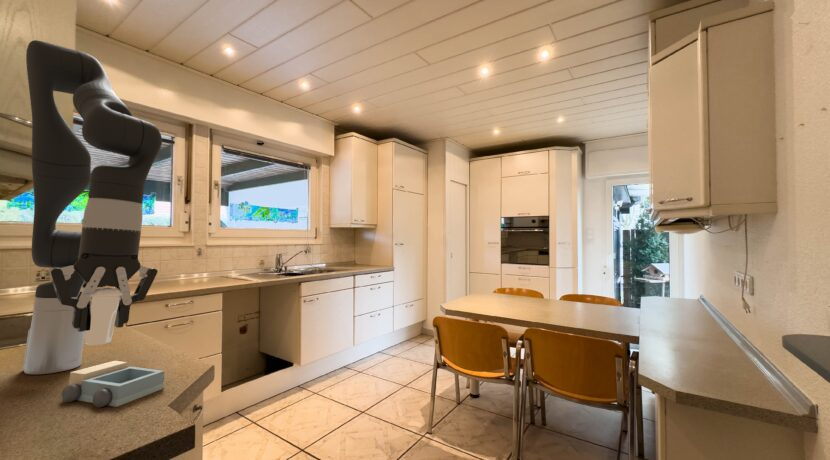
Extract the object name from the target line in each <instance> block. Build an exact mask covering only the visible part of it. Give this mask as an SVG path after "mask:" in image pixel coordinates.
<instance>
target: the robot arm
mask: <svg viewBox="0 0 830 460" xmlns="http://www.w3.org/2000/svg"><path fill="white" fill-rule="evenodd" d="M26 48H27V49H26V52H25V53H26V54H25V56H26V57H25V59H26V62H25V63H26V73H27V74H26V76H27V83H28V90H29V91H28V92H29V99H30V109H31V118H32V119H31V122H32V123H31V172H32V182H33V183H32V184H33V203H34V204H33V205H34V206H33V207H34V209H33V211H34V212H33V221H32V222H33V223H32V224H33V225H32V235H31V236H32V237H31V258H32V259H31V260H32V262H33V263H34V265H36V266H37V267H39V268H49V270H48V274H49V277H50V281H49V282H44V283H40V284H39V285H37V287H36V288H35V294H34V296H35V297H34V302H33V308H32V310H33V311H32V317H31V322H30V323H31V324H30V328H28V330H27V331H28V332H27V339H26V345H25V352H24V360H23V366H22V370H23V373H24V374H25V375H45V374H54V373H59V372H64V371H70V370H73V369H76V368H78V367H80V366H81V364H82V357H83V356H82V355H83V349H84V344H85V329H86V321H87V313H88V308H86V306H87V304H88V302H89V297H90V296H89V295H91V294H94V292H95V290H96V289H97V288H104V287H105V288H106V287H110V288H114V287H115V288H116V289H119V290H120V291H121V293H123V295H122V300H121V304H120V307H119V311H118V314H117V318H116V322H115V326H114V328H115V327H116V328H119V329H121V328H123V327H124V325H125V324H128V322H129V319H130V313H131V312H130V311H131V310H130V309H131V306H132V305H133V304H134V303H137V302H140V301H144V300H145V299H146V297H147V294H148V292H149V290H150V289H151V287H152V285H153V282H154V281H155V278H156V277H157V275H158V269H156V268H153V267H148V266H143V265H141V263H140V261H139V251H140V242H141V235H142V226H143V200H144V192H145V191H144V190H145V186H146V185H145V184H146V180H147V178H148V175H149V173H150V171H151V168H152V166H153V164H154V162H155V160H156V158H157V157H158V155H159V152H160V150H161V148H162V144H163V138H162V134H161V132H160V130H159V129H158V127H157V126H156V125H155V124H153V123H151V122H149V121H147V120H143V119H140V118H137V117H134V116H133V114H132V112H131V110H130V109H129V107H127V105H126V104H125V103H124V102H123V101H122V100H121V98H120V97H118V95H117V94H116V93H115V91H114V89H113V87H112V83H111V81H110V79H109V78H108V76H107V73H106V71H105V69H104V68H103V65H102V64H101V63H100V62H99V60H98V59H97V58H96V57H95V56H92V54H89V53H86V52H84V51H81V50H80V51H79V50H76V49H72V48H69V47H66V46H65V47H64V46H63V45H62V46H61V45H57V44H54V43H50V42H45V41H42V40H37V39H36V40H35V39H34V40H31V41H30V42H29V43H28V45H27V47H26ZM54 92H59V93H63V94H64V93H65V94H69V95H72V103H73V107H74V109H75V110H76V112H77V113H78V115H79V117H81V119H82V121H83V123H82V126H81V134H82V138H83V140H84V141H85V142H86V143H87V144H89V145H90V146H91V147H94V148H95V149H97V150H100V151H105V152H109V153H113V154H117V155H122V156H126V157H128V158H129V160H128V161H127V163H125V164H124V165H110V164H109V165H108V164H106V165H105V164H104V165H96V166H95V167H94V168H93V169H92V168H91V167H92V159H91V158H92V157H91V153H90V151H89V149H88V148H87V147H86V145H85V144H84V142H83V141H82V140H81V139H80V138H79V137H78V135H77V134H76V133H75V132H74V131H73V129H72V128H71V127H70V125H68V123H67V122H66V120H65V118H64V117H63V116H62V114H61V113H60V110H59V109H58V106H57V103H56V100H55V96H54ZM88 186H89V188H88ZM87 188H88V197H87V198H88V199H87V202H86V206H85V208H84V212H83V218H82V220H81V225H82V226H81V231H80V230H79V231H76V230H64V229H63V230H60V229H56V224H57V221H58V219H59V217H60V216H61V214H63V212H64V210H66V209H67V207H68V206H69V205H71V203H73V202H74V201H75V200H76V199H77V198H78V197H79V196H81V194H82V193H83V192H85V190H86V189H87ZM136 273H139V274H138V276H139V278H140V280H139V283H138V284H137V286H136V289H135V290H134V293H132V294H131V292H130V291H131V289H130V285H129V280H130V279H132V278H133V277H134V276H135V274H136Z"/></svg>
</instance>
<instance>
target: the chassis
mask: <svg viewBox="0 0 830 460" xmlns="http://www.w3.org/2000/svg"><path fill="white" fill-rule="evenodd" d="M164 381H165V370H159V369H152V368H144V367H138V366H128V361H120V360H112V361H108V362H105V363H101V364H96V365H93V366H88V367H85V368H81V369H78V370H75V371H74V370H73V371H70V373H69V381H68V385H67V386H64V387H63V389H62V391H61V397H62V400H63V402H65V403H71V402H73V401H80V402H86V403H92V404H93V405H94V407H95V408H103V407H105V406H109V407H115V408H117V407H120V406H122V405H124V404H128V403H130V402H133V401H136V400H139V399H140V398H142V397H146V396H149V395H151V394H153V393H156V392H159V391H162V390H163V387H164Z"/></svg>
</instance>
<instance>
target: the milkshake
mask: <svg viewBox="0 0 830 460" xmlns="http://www.w3.org/2000/svg"><path fill="white" fill-rule="evenodd" d="M122 295H123V293H121V291H120V290H119V289H116V288H114V287H105V288H104V287H97V288H96V290H95V292H94V294H91V295H89V296H90V297H89V302H88V304H87V306H86V308H88V313H87V321H86V329H85V335H84V345H88V346H99V345H106V344H109V343H111V342H112V339H113V333H114V330H115V322H116V318H117V314H118V311H119V307H120V304H121V300H122Z"/></svg>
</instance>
